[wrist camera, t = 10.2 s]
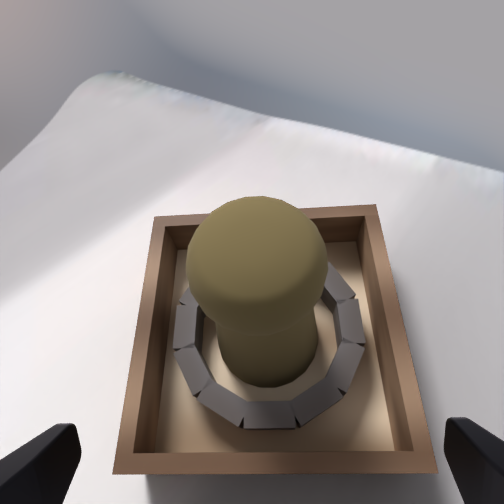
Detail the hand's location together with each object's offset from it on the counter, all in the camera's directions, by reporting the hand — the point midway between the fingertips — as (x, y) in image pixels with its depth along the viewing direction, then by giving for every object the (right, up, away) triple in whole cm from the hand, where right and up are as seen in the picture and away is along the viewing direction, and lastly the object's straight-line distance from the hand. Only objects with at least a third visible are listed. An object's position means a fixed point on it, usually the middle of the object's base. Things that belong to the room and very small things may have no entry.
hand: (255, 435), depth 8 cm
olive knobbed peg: (+1, -1, +13) cm, 13 cm away
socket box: (+1, -1, +13) cm, 13 cm away
